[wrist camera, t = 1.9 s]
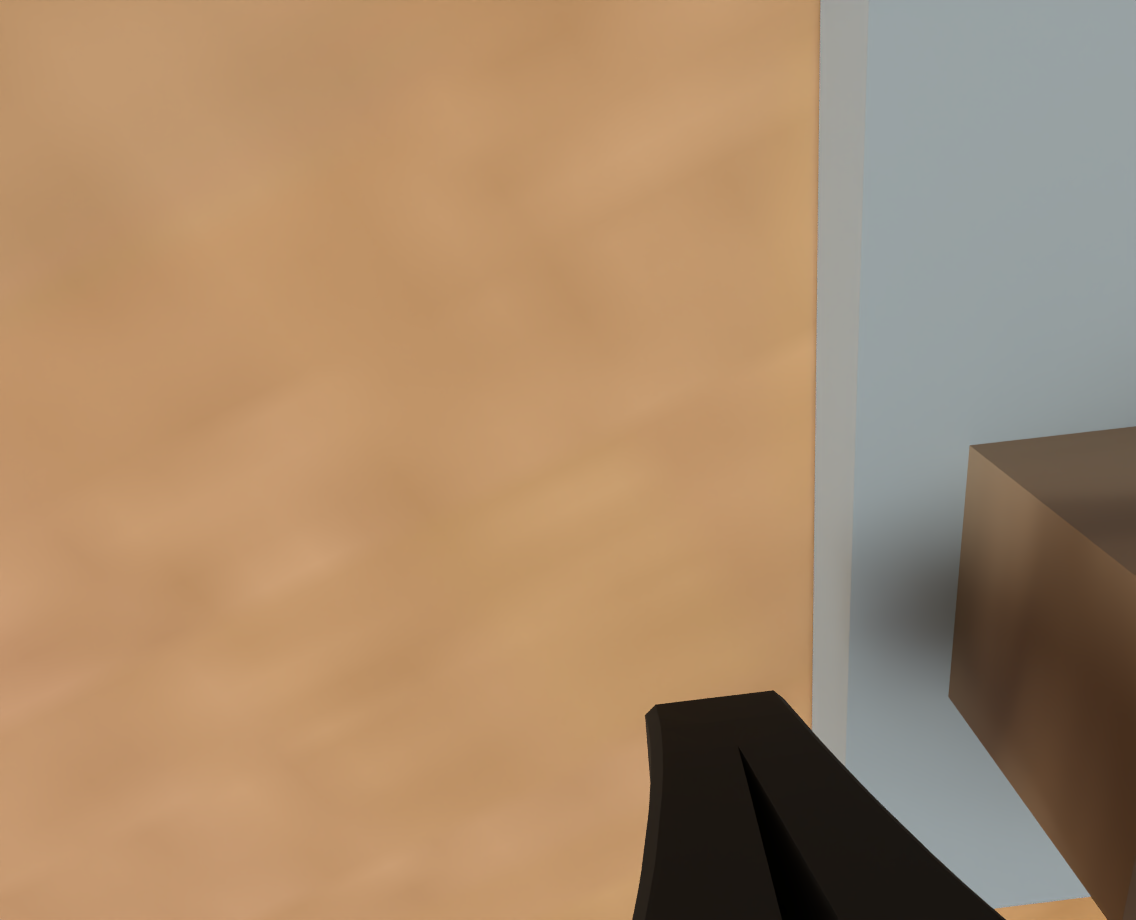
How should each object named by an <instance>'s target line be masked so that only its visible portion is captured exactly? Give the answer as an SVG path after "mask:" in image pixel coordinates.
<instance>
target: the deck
mask: <svg viewBox="0 0 1136 920" xmlns="http://www.w3.org/2000/svg"><path fill="white" fill-rule="evenodd" d="M1134 426H1136V0H821V7H820V92H819V177H818V263H817V348H816V433H815V518H814V604H813V689H812V731H813V732H814V734H815V735H816V736H817V737H818V738H819V739H820V740H821V741H822V742H823V743H824V745H825V746H826V747H827V748H828V749H829V750H830V751H831V752H832V753H833V754H834V755H835V756H836V758H837V759H838V760H839V761H840V762H841V763H842V764H843V765H844V766H845V767H846V768H847V769H848V770H849V771H850V772H851V773H852V774H853V775H854V777H855V778H856V779H857V780H858V781H859V782H860V783H861V784H862V785H863V786H864V787H865V788H866V789H867V790H868V791H869V792H870V793H871V794H872V795H873V796H874V797H875V798H876V799H877V800H878V801H879V802H880V803H881V804H882V805H883V806H884V807H885V808H886V809H887V810H888V811H889V812H890V813H891V814H892V815H893V816H894V817H895V818H896V819H897V820H898V821H899V822H900V823H901V824H902V825H903V826H904V827H905V828H906V829H907V830H909V831H910V832H911V833H912V834H913V835H914V836H915V837H916V838H917V839H918V840H919V841H920V842H921V843H922V844H923V845H924V846H925V847H926V848H927V849H928V850H929V851H930V852H931V853H932V854H933V855H934V856H935V857H936V858H938V859H939V860H940V861H941V862H942V863H943V864H944V865H945V866H946V867H947V868H948V869H949V870H951V871H952V872H953V873H954V874H955V875H956V876H957V877H958V878H959V879H960V880H961V881H962V882H964V883H965V884H966V885H967V886H968V887H969V888H970V889H971V890H973V891H974V892H975V893H976V894H977V895H978V896H979V897H980V898H982V899H983V900H984V901H985V902H986V903H987V904H988V905H990V906H991V907H992V908H993V909H994V908H1002V907H1010V906H1018V905H1026V904H1034V903H1042V902H1050V901H1058V900H1067V899H1075V898H1083V897H1091V896H1090V894H1089V893H1088V892H1087V890H1086V889H1085V887H1084V886H1083V885H1082V883H1081V882H1080V880H1079V879H1078V878H1077V876H1076V875H1075V873H1074V872H1073V871H1072V869H1071V868H1070V866H1069V865H1068V864H1067V862H1066V861H1065V859H1064V858H1063V857H1062V855H1061V854H1060V852H1059V851H1058V850H1057V848H1056V847H1055V845H1054V844H1053V843H1052V841H1051V840H1050V838H1049V837H1048V836H1047V834H1046V833H1045V831H1044V830H1043V829H1042V827H1041V826H1040V824H1039V823H1038V822H1037V820H1036V819H1035V817H1034V816H1033V815H1032V813H1031V812H1030V810H1029V809H1028V808H1027V806H1026V805H1025V803H1024V802H1023V801H1022V799H1021V798H1020V796H1019V795H1018V794H1017V792H1016V791H1015V789H1014V788H1013V787H1012V785H1011V784H1010V782H1009V781H1008V780H1007V778H1006V777H1005V776H1004V774H1003V773H1002V771H1001V770H1000V769H999V767H998V766H997V764H996V763H995V762H994V760H993V759H992V757H991V756H990V755H989V753H988V752H987V750H986V749H985V748H984V746H983V745H982V743H981V742H980V741H979V739H978V738H977V736H976V735H975V734H974V732H973V731H972V729H971V728H970V727H969V725H968V724H967V722H966V721H965V720H964V718H963V717H962V715H961V714H960V713H959V711H958V710H957V708H956V707H955V706H954V704H953V703H952V701H951V700H950V699H949V697H948V694H949V682H950V670H951V658H952V647H953V635H954V623H955V611H956V600H957V588H958V576H959V564H960V552H961V541H962V529H963V517H964V505H965V494H966V482H967V470H968V458H969V447H970V445H977V444H986V443H995V442H1003V441H1012V440H1021V439H1029V438H1038V437H1047V436H1056V435H1064V434H1073V433H1082V432H1091V431H1099V430H1108V429H1117V428H1126V427H1134Z"/></svg>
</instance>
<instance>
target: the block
mask: <svg viewBox="0 0 1136 920" xmlns="http://www.w3.org/2000/svg"><path fill="white" fill-rule="evenodd" d="M948 697H949V699H950V700H951V701H952V703H953V704H954V706H955V707H956V708H957V710H958V711H959V713H960V714H961V715H962V717H963V718H964V720H965V721H966V722H967V724H968V725H969V727H970V728H971V729H972V731H973V732H974V734H975V735H976V736H977V738H978V739H979V741H980V742H981V743H982V745H983V746H984V748H985V749H986V750H987V752H988V753H989V755H990V756H991V757H992V759H993V760H994V762H995V763H996V764H997V766H998V767H999V769H1000V770H1001V771H1002V773H1003V774H1004V776H1005V777H1006V778H1007V780H1008V781H1009V782H1010V784H1011V785H1012V787H1013V788H1014V789H1015V791H1016V792H1017V794H1018V795H1019V796H1020V798H1021V799H1022V801H1023V802H1024V803H1025V805H1026V806H1027V808H1028V809H1029V810H1030V812H1031V813H1032V815H1033V816H1034V817H1035V819H1036V820H1037V822H1038V823H1039V824H1040V826H1041V827H1042V829H1043V830H1044V831H1045V833H1046V834H1047V836H1048V837H1049V838H1050V840H1051V841H1052V843H1053V844H1054V845H1055V847H1056V848H1057V850H1058V851H1059V852H1060V854H1061V855H1062V857H1063V858H1064V859H1065V861H1066V862H1067V864H1068V865H1069V866H1070V868H1071V869H1072V871H1073V872H1074V873H1075V875H1076V876H1077V878H1078V879H1079V880H1080V882H1081V883H1082V885H1083V886H1084V887H1085V889H1086V890H1087V892H1088V893H1089V894H1090V896H1091V897H1092V899H1093V900H1094V901H1095V903H1096V904H1097V906H1098V907H1099V908H1100V910H1101V911H1102V913H1103V914H1104V915H1105V917H1106V918H1107V920H1136V426H1134V427H1126V428H1117V429H1108V430H1099V431H1091V432H1082V433H1073V434H1064V435H1056V436H1047V437H1038V438H1029V439H1021V440H1012V441H1003V442H995V443H986V444H977V445H970V447H969V458H968V470H967V482H966V494H965V505H964V517H963V529H962V541H961V552H960V564H959V576H958V588H957V600H956V611H955V623H954V635H953V647H952V658H951V670H950V682H949V694H948Z"/></svg>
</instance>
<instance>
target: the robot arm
mask: <svg viewBox="0 0 1136 920" xmlns="http://www.w3.org/2000/svg"><path fill="white" fill-rule="evenodd" d="M645 720H646V732H647V745H648V758H649V770H650V783H651V784H650V802H649V814H648V822H647V830H646V838H645V846H644V854H643V862H642V871H641V877H640V883H639V889H638V894H637V899H636V904H635V909H634V914H633V919H632V920H1005V919H1004V918H1003V917H1002V916H1001V915H1000V914H999V913H998V912H996V911H995V910H994V909H993V908H992V907H991V906H990V905H988V904H987V903H986V902H985V901H984V900H983V899H982V898H980V897H979V896H978V895H977V894H976V893H975V892H974V891H973V890H971V889H970V888H969V887H968V886H967V885H966V884H965V883H964V882H962V881H961V880H960V879H959V878H958V877H957V876H956V875H955V874H954V873H953V872H952V871H951V870H949V869H948V868H947V867H946V866H945V865H944V864H943V863H942V862H941V861H940V860H939V859H938V858H936V857H935V856H934V855H933V854H932V853H931V852H930V851H929V850H928V849H927V848H926V847H925V846H924V845H923V844H922V843H921V842H920V841H919V840H918V839H917V838H916V837H915V836H914V835H913V834H912V833H911V832H910V831H909V830H907V829H906V828H905V827H904V826H903V825H902V824H901V823H900V822H899V821H898V820H897V819H896V818H895V817H894V816H893V815H892V814H891V813H890V812H889V811H888V810H887V809H886V808H885V807H884V806H883V805H882V804H881V803H880V802H879V801H878V800H877V799H876V798H875V797H874V796H873V795H872V794H871V793H870V792H869V791H868V790H867V789H866V788H865V787H864V786H863V785H862V784H861V783H860V782H859V781H858V780H857V779H856V778H855V777H854V775H853V774H852V773H851V772H850V771H849V770H848V769H847V768H846V767H845V766H844V765H843V764H842V763H841V762H840V761H839V760H838V759H837V758H836V756H835V755H834V754H833V753H832V752H831V751H830V750H829V749H828V748H827V747H826V746H825V745H824V743H823V742H822V741H821V740H820V739H819V738H818V737H817V736H816V735H815V734H814V732H813V731H812V730H811V729H810V728H809V727H808V726H807V725H806V724H805V722H804V721H803V720H802V719H801V718H800V717H799V716H798V714H797V713H796V712H795V711H794V710H793V709H792V708H791V706H790V705H789V704H788V703H787V702H786V701H785V700H784V699H783V698H782V697H781V696H780V695H778V694H777V693H776V692H775V691H765V692H757V693H749V694H740V695H732V696H724V697H715V698H707V699H699V700H691V701H682V702H674V703H666V704H657V705H655V706H654V707H653V708H652V709H651V710H650V711H649V712H648V713H647V714H646V715H645Z"/></svg>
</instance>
